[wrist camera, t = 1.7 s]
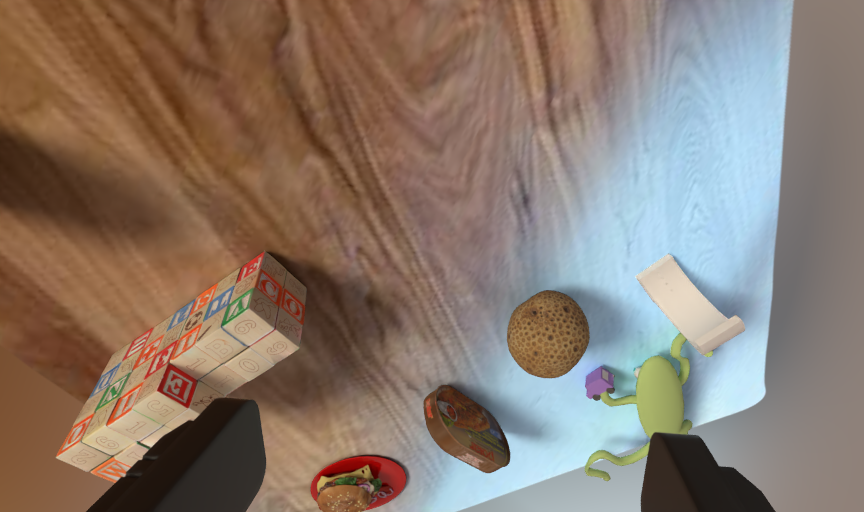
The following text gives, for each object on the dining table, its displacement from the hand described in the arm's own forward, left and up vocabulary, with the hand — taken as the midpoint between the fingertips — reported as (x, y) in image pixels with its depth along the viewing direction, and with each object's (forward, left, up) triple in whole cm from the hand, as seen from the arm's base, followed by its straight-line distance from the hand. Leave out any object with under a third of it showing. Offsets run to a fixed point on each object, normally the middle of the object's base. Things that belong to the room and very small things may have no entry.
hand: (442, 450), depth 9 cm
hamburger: (+53, -24, -35) cm, 68 cm away
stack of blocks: (+17, -25, -35) cm, 46 cm away
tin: (+44, -5, -35) cm, 56 cm away
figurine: (+57, +19, -35) cm, 69 cm away
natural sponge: (+31, +8, -35) cm, 47 cm away
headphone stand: (+35, +24, -35) cm, 55 cm away
